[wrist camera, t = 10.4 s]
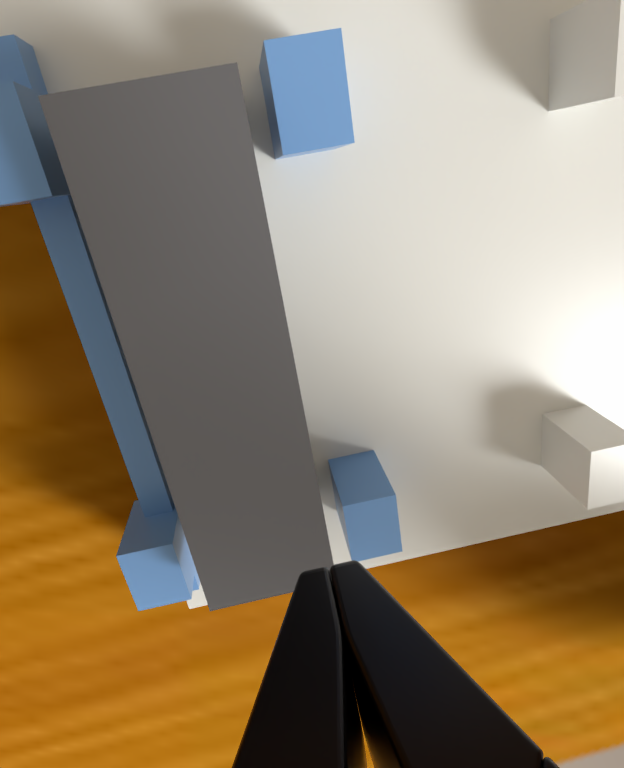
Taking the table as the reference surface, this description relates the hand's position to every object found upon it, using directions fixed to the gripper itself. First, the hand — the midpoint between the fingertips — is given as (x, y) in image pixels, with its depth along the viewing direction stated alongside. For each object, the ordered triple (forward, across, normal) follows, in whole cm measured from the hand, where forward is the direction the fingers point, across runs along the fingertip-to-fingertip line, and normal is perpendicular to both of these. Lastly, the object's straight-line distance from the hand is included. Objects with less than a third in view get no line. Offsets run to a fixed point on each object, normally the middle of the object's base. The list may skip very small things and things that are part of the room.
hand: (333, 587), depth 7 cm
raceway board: (+12, -6, -1) cm, 14 cm away
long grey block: (+11, +2, -1) cm, 11 cm away
